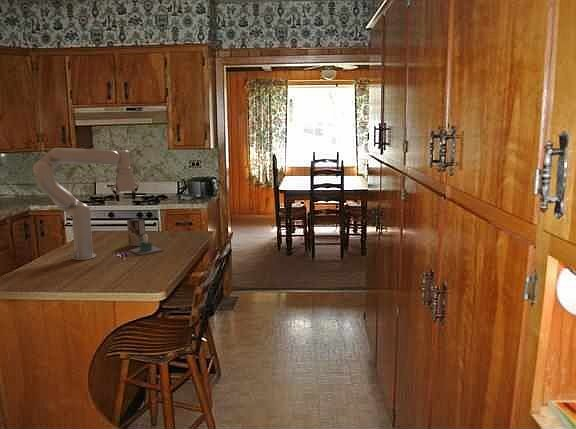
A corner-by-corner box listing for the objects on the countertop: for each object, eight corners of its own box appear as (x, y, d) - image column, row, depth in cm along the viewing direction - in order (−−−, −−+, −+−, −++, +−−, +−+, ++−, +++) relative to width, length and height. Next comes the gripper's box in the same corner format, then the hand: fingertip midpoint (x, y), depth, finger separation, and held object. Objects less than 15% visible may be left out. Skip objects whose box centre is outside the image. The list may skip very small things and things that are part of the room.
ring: (143, 251, 288) (143, 244, 287) (138, 249, 293) (138, 242, 292) (153, 249, 292) (153, 242, 292) (148, 247, 297) (148, 240, 297)
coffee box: (146, 244, 312) (145, 219, 309) (140, 246, 306) (139, 220, 303) (134, 243, 315) (132, 218, 312) (128, 245, 309) (126, 220, 306)
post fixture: (140, 255, 283) (139, 238, 282) (130, 251, 294) (128, 234, 292) (162, 251, 293) (161, 234, 291) (151, 247, 303) (150, 231, 301)
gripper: (112, 172, 280) (114, 202, 283) (140, 170, 291) (142, 199, 294) (106, 172, 285) (109, 201, 288) (134, 170, 297) (136, 198, 300)
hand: (125, 200), depth 291 cm, fingers open, 9 cm apart
